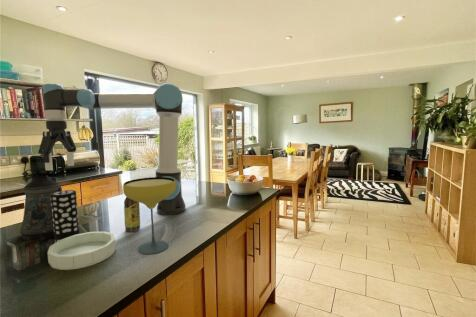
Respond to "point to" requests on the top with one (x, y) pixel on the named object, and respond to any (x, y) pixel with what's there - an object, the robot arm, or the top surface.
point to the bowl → (81, 250)
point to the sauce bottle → (131, 215)
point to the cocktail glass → (150, 203)
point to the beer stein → (39, 208)
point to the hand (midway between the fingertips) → (60, 167)
